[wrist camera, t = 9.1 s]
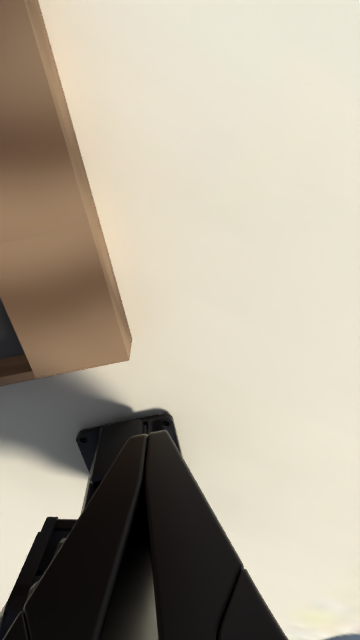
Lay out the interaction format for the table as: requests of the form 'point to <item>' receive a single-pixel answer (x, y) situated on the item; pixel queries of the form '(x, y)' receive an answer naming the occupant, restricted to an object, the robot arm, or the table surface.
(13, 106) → the board
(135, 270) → the table surface
